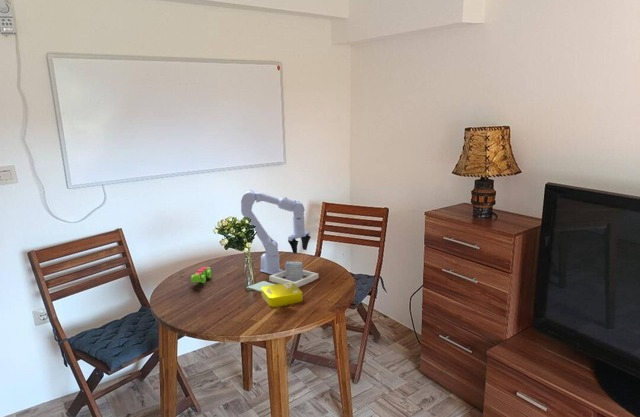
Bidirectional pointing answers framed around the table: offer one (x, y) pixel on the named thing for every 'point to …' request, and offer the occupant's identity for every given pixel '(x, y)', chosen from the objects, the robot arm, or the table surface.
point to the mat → (260, 285)
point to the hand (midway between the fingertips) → (299, 251)
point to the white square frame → (278, 279)
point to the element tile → (281, 294)
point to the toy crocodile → (201, 275)
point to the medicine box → (294, 271)
